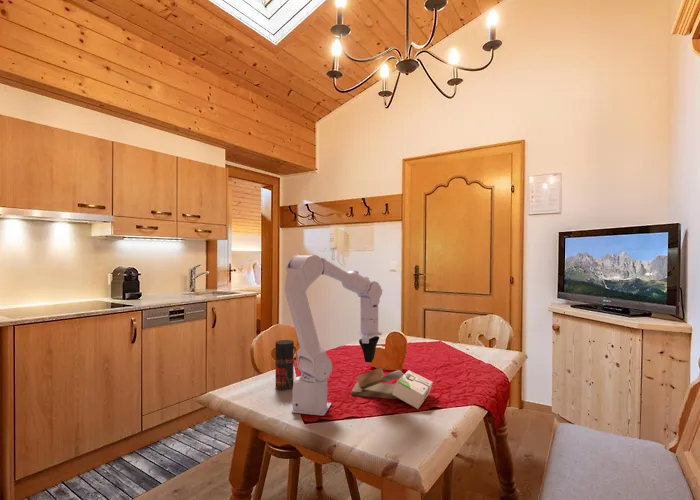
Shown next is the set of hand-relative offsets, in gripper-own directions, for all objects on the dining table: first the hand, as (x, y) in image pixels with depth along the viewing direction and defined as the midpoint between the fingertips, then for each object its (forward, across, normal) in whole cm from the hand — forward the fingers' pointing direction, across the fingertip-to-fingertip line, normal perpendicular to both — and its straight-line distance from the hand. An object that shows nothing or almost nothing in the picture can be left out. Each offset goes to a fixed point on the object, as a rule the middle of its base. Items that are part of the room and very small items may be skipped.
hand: (369, 360), depth 119 cm
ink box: (+6, -9, -13) cm, 17 cm away
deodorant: (+10, -2, +28) cm, 30 cm away
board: (+10, +1, -4) cm, 11 cm away
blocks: (+5, -2, -5) cm, 8 cm away
